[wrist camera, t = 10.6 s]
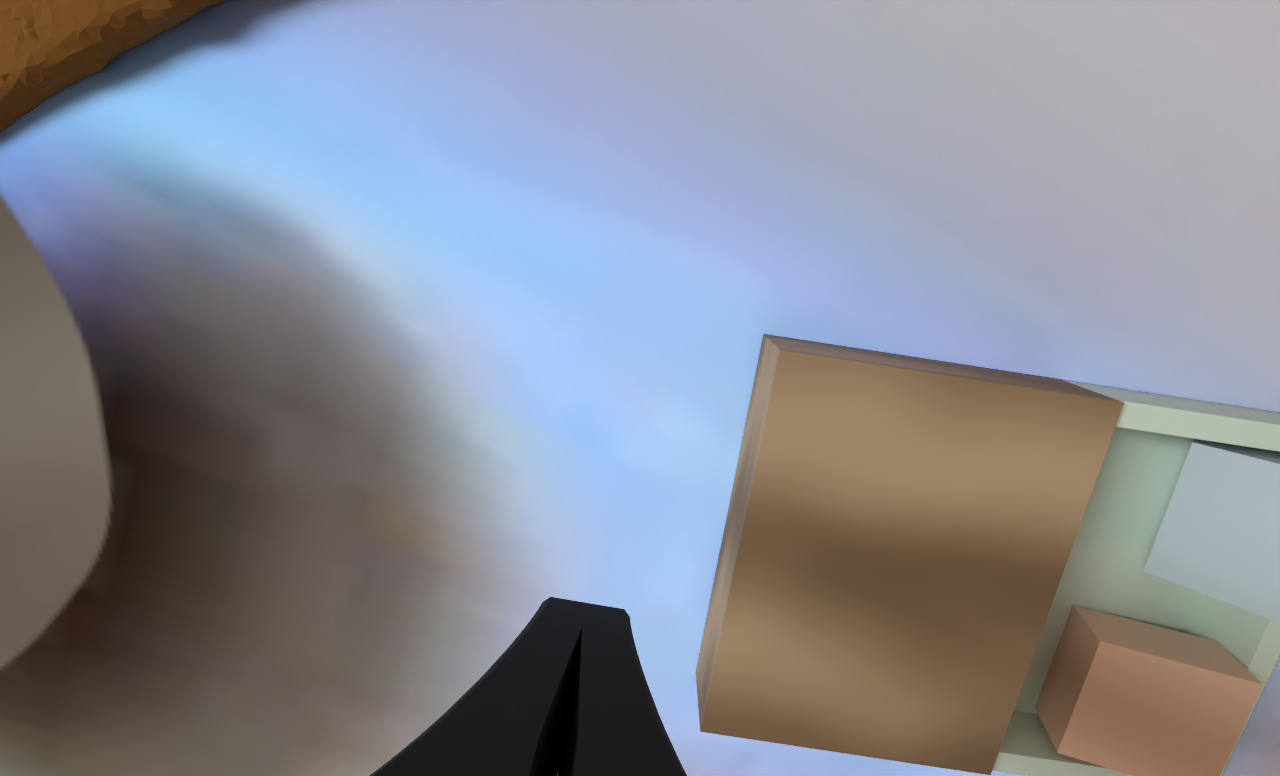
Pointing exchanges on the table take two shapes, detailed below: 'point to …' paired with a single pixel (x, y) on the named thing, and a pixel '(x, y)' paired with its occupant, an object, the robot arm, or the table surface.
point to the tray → (1140, 559)
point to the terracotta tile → (1144, 697)
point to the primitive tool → (72, 42)
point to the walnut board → (893, 551)
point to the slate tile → (1224, 527)
